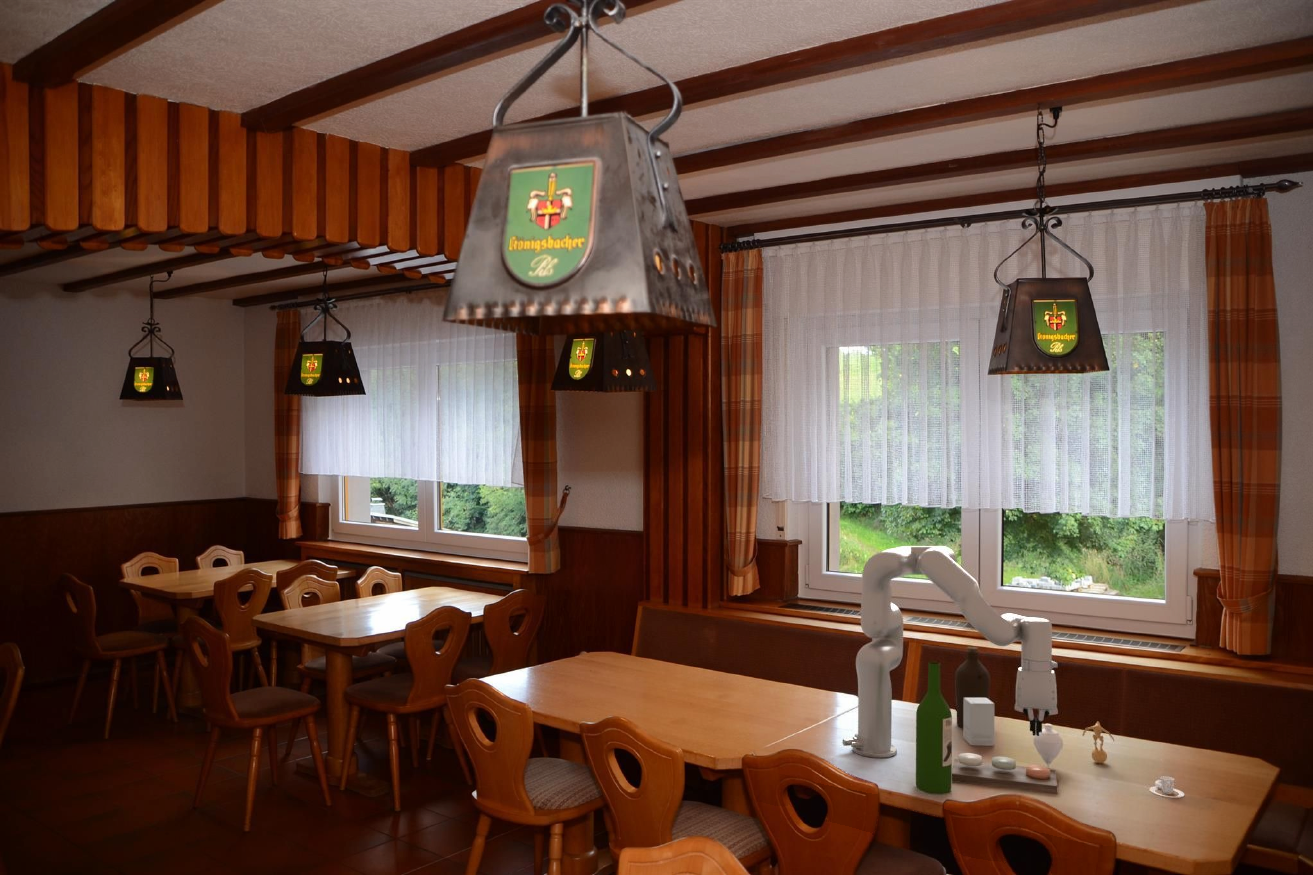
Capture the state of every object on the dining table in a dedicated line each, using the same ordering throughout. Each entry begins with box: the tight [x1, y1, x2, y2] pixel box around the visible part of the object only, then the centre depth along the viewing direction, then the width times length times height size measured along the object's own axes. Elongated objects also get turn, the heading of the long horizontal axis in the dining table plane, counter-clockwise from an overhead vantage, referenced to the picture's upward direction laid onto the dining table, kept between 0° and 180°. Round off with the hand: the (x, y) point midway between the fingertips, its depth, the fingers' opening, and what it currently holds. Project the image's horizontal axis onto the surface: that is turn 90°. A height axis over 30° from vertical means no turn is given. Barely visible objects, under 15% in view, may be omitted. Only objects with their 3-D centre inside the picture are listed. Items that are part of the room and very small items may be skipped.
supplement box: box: [962, 698, 995, 747], centre depth 290 cm, size 7×7×13 cm
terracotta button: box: [1025, 764, 1051, 779], centre depth 255 cm, size 6×6×2 cm
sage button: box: [991, 756, 1017, 770], centre depth 258 cm, size 6×6×2 cm
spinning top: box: [1033, 723, 1064, 769], centre depth 268 cm, size 8×8×12 cm
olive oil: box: [954, 646, 991, 729], centre depth 307 cm, size 11×11×25 cm
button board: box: [951, 758, 1058, 795], centre depth 258 cm, size 13×26×2 cm, turn 70°
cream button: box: [958, 752, 983, 766], centre depth 261 cm, size 6×6×2 cm
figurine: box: [1082, 721, 1115, 764], centre depth 271 cm, size 8×6×12 cm
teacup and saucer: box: [1149, 775, 1185, 799], centre depth 250 cm, size 9×8×4 cm
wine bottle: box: [915, 661, 953, 795], centre depth 251 cm, size 9×9×32 cm
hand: (1035, 734), depth 255 cm, fingers closed
